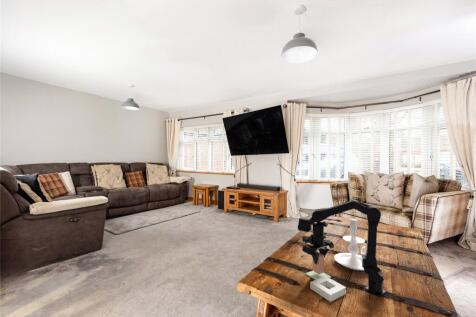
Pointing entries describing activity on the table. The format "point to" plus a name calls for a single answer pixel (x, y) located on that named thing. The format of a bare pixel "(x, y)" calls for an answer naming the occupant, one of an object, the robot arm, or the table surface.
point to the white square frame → (329, 294)
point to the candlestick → (352, 250)
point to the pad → (317, 275)
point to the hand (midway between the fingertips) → (318, 262)
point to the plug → (319, 265)
